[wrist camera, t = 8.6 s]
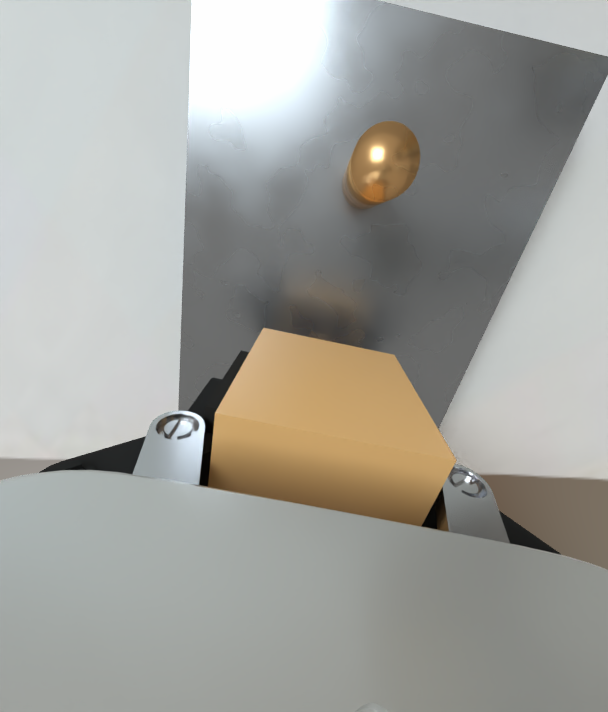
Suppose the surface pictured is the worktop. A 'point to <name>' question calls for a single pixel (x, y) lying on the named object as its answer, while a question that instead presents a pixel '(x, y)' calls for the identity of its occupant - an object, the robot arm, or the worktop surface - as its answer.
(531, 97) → the plate
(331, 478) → the tan cardboard cube
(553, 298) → the worktop surface
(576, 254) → the worktop surface
